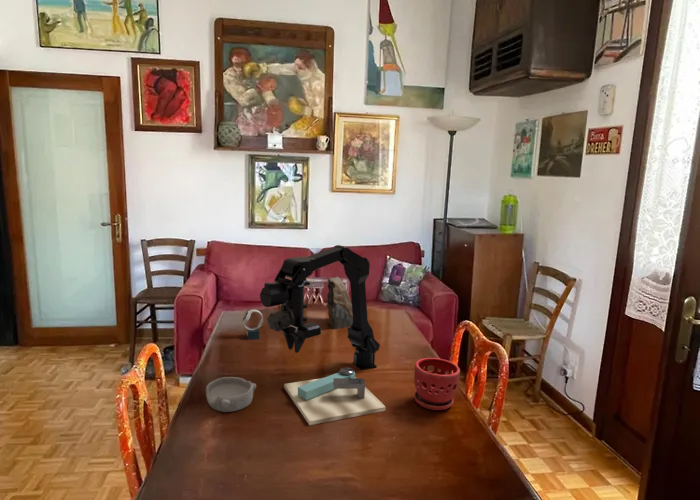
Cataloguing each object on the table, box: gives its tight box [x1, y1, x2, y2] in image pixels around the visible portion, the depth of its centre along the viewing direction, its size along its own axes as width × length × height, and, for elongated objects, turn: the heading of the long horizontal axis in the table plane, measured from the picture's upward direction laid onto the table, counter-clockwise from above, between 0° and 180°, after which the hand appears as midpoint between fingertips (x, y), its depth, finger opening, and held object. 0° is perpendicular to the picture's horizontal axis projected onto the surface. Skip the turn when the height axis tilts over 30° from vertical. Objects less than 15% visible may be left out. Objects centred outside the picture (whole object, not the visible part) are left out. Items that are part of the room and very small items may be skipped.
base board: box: [283, 376, 387, 426], centre depth 150 cm, size 23×24×1 cm
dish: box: [205, 376, 257, 413], centre depth 147 cm, size 14×14×5 cm
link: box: [298, 370, 356, 400], centre depth 154 cm, size 21×5×2 cm, turn 134°
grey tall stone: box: [326, 275, 353, 330], centre depth 217 cm, size 13×13×20 cm
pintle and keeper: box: [333, 366, 366, 399], centre depth 154 cm, size 14×9×5 cm, turn 4°
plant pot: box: [413, 357, 461, 411], centre depth 149 cm, size 13×13×12 cm
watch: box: [241, 308, 264, 341], centre depth 198 cm, size 6×8×11 cm
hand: (293, 351), depth 152 cm, fingers open, 3 cm apart
